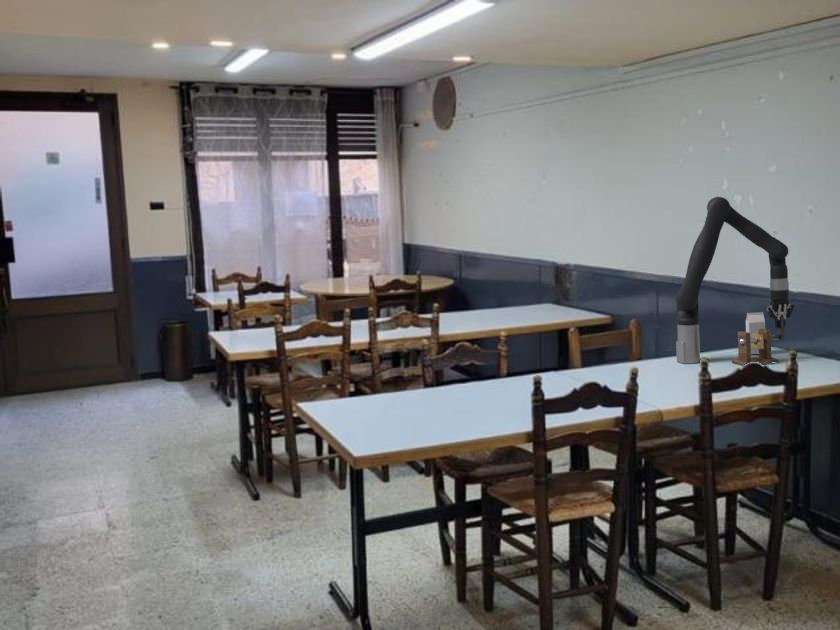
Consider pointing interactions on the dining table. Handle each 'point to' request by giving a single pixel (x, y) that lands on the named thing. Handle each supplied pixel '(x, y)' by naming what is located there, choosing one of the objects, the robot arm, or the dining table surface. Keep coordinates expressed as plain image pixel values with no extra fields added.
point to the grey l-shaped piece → (776, 337)
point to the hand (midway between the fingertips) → (780, 327)
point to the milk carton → (754, 326)
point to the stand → (745, 349)
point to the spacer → (760, 341)
